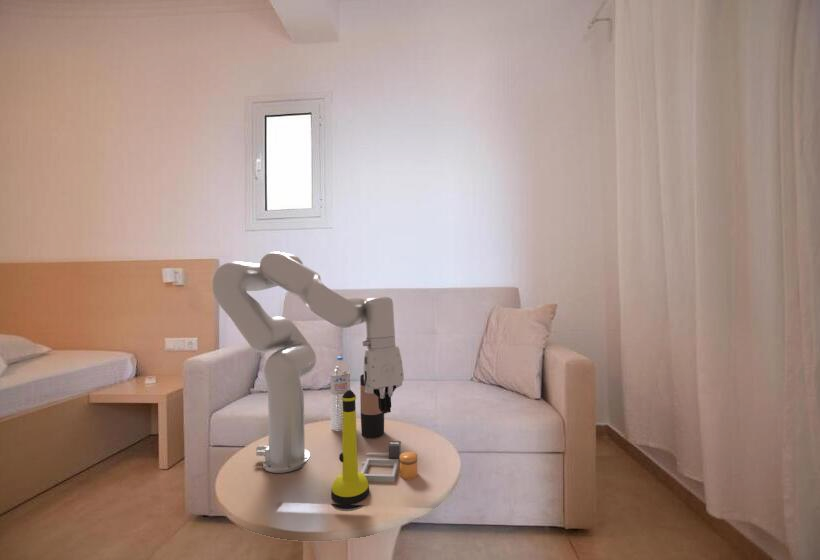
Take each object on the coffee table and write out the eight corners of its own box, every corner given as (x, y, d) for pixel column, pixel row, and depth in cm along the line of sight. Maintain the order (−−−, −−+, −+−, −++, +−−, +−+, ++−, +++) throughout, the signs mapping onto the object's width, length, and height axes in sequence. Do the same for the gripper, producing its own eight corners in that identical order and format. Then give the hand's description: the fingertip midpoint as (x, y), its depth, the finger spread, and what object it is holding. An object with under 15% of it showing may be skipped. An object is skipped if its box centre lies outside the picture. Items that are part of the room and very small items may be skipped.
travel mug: (364, 432, 118) (363, 372, 119) (386, 433, 117) (385, 372, 118) (358, 442, 111) (357, 378, 111) (381, 443, 110) (380, 378, 110)
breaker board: (338, 485, 87) (338, 474, 87) (353, 457, 101) (353, 448, 101) (395, 487, 86) (394, 476, 86) (401, 459, 100) (401, 449, 100)
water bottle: (327, 434, 117) (326, 358, 118) (335, 426, 124) (334, 354, 125) (347, 435, 116) (346, 359, 117) (353, 427, 123) (352, 355, 123)
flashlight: (369, 384, 86) (333, 384, 86) (366, 395, 77) (325, 396, 77) (371, 487, 86) (334, 488, 86) (368, 510, 77) (326, 511, 77)
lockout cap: (398, 484, 87) (398, 460, 87) (401, 474, 91) (400, 451, 91) (417, 485, 86) (416, 460, 87) (418, 475, 91) (417, 451, 91)
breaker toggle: (388, 462, 95) (388, 445, 95) (390, 457, 98) (390, 440, 98) (399, 463, 95) (399, 445, 95) (401, 457, 98) (400, 440, 98)
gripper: (361, 348, 88) (365, 422, 88) (412, 340, 96) (416, 408, 95) (350, 345, 94) (353, 414, 94) (398, 338, 102) (402, 402, 102)
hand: (385, 411), depth 95 cm, fingers closed
